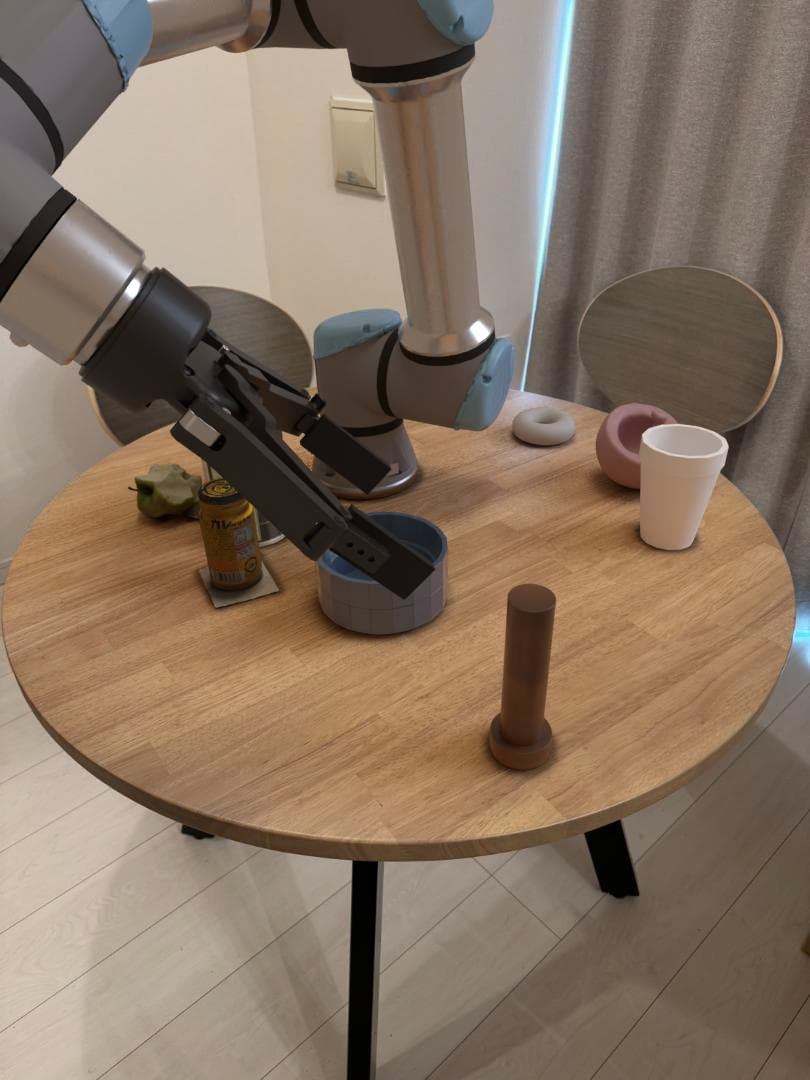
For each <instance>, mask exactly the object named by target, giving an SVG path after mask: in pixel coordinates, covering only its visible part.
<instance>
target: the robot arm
mask: <svg viewBox="0 0 810 1080" xmlns="http://www.w3.org/2000/svg"><path fill="white" fill-rule="evenodd" d="M494 11H495V3H494V0H0V327H2V328H3V329H5V330H7V331H8V332H10V334H9V340H10V342H11V343H12V344H13V345H14V346H17V347H18V348H25V347H27V346H28V345H29V346H30V347H32V348H33V349H35V350H36V351H38V352H39V353H41V354H42V355H44V356H45V357H47V358H48V359H50V360H51V361H53V362H54V363H56V364H57V365H59V366H63V367H64V366H68V365H70V364H71V363H72V362H75V363H76V364H78V365H79V366H80V368H79V370H78V376H80V377H81V379H80V382H82V383H84V384H85V385H87V386H88V387H90V388H91V389H93V390H94V391H96V392H97V393H98V394H100V395H102V396H103V397H105V398H106V399H108V400H109V401H110V402H112V403H114V404H115V405H117V406H118V407H120V408H121V409H122V410H124V411H125V412H127V413H130V414H139V413H142V412H144V411H145V410H147V409H148V408H149V407H151V405H152V403H153V402H155V401H158V400H163V401H164V402H167V403H168V405H169V406H170V407H171V408H172V409H174V410H175V411H176V412H177V413H178V414H179V415H180V417H179V419H177V421H176V422H175V423H174V425H172V427H171V428H170V429H169V434H170V435H171V437H172V438H173V439H174V440H175V441H176V442H177V443H179V444H180V445H182V446H183V447H184V448H186V449H187V450H189V451H190V452H191V453H192V454H193V455H195V456H197V457H198V458H200V459H202V460H204V461H205V462H206V463H207V464H209V465H210V466H211V467H212V468H213V469H214V470H215V471H216V472H217V473H218V474H219V475H220V476H221V477H222V478H223V479H225V480H226V481H227V482H228V483H229V484H230V485H231V486H232V487H233V488H234V489H235V490H236V491H237V492H238V493H239V494H241V495H242V496H243V497H244V498H245V499H246V500H247V501H248V502H249V503H250V504H251V505H252V506H253V507H254V508H256V509H257V510H258V511H259V512H260V513H261V514H262V515H263V516H264V517H265V518H266V519H267V520H268V521H269V522H270V523H272V524H273V525H274V526H275V527H276V528H277V529H278V530H279V531H280V532H281V533H282V534H283V535H284V536H285V538H286V539H288V541H289V542H290V543H292V544H293V545H294V546H295V547H296V548H297V549H298V550H299V551H300V553H301V554H303V556H305V557H306V558H308V559H309V560H310V561H314V562H315V561H318V560H319V559H320V558H321V556H322V555H323V554H324V553H325V552H326V551H327V550H328V549H329V550H330V551H332V552H333V553H335V554H336V555H338V556H339V557H341V558H342V559H344V560H345V561H347V562H348V563H350V564H351V565H353V566H354V567H356V568H357V569H359V570H360V571H362V572H363V573H365V574H366V575H368V576H369V577H371V578H372V579H374V580H375V581H376V582H378V583H379V584H381V585H382V586H384V587H385V588H387V589H388V590H390V591H391V592H393V593H394V594H396V595H397V596H399V597H400V598H402V599H403V600H405V599H406V598H407V597H408V596H409V595H410V594H411V593H412V592H413V591H414V590H415V589H416V588H417V587H418V586H419V585H420V584H421V583H422V582H423V581H424V580H425V579H426V578H427V577H428V576H429V575H431V574H432V573H433V572H434V571H435V570H436V569H435V567H434V565H433V563H432V562H431V561H430V560H428V559H427V558H426V557H424V556H423V555H421V554H420V553H419V552H417V551H416V550H415V549H413V548H412V547H410V546H409V545H408V544H406V543H405V542H403V541H402V540H401V539H399V538H398V537H397V536H395V535H394V534H392V533H391V532H390V531H388V530H387V529H385V528H384V527H383V526H381V525H380V524H379V523H377V522H376V521H374V520H373V519H372V518H370V517H369V516H367V515H366V514H365V512H364V511H362V510H361V509H359V508H358V507H357V506H355V505H354V504H350V505H349V506H348V507H346V506H345V505H344V504H343V503H342V502H341V501H340V499H338V498H342V499H347V500H372V499H373V500H374V499H381V498H384V497H385V498H386V497H388V496H392V495H395V494H398V493H401V492H402V491H404V490H407V488H409V487H411V485H412V484H414V483H415V481H416V480H417V478H418V473H419V471H418V459H417V456H416V453H415V451H414V447H413V445H412V443H411V440H410V437H409V434H408V432H407V429H406V426H405V422H404V420H406V421H411V422H417V423H421V424H425V425H426V424H427V425H432V426H437V427H443V428H448V429H453V430H454V431H460V430H462V431H470V432H483V431H486V430H487V429H489V428H490V427H491V426H492V425H493V424H494V423H495V421H496V420H497V419H498V417H499V416H500V414H501V411H502V409H503V407H504V405H505V402H506V399H507V397H508V394H509V390H510V387H511V383H512V380H513V375H514V370H515V369H514V368H515V359H516V354H515V351H516V350H515V347H514V345H513V343H512V342H511V341H510V340H508V339H506V338H505V337H499V338H498V337H496V328H495V327H496V326H495V319H494V316H493V315H492V314H491V312H490V311H489V310H488V309H486V308H485V307H483V306H481V302H480V290H479V279H478V278H479V277H478V266H477V254H476V244H475V243H476V242H475V232H474V231H475V229H474V219H473V206H472V197H471V183H470V172H469V171H470V170H469V160H468V148H467V135H466V124H465V113H464V112H465V111H464V100H463V90H462V88H463V87H462V81H463V78H464V76H465V75H466V73H467V72H468V70H469V69H470V68H471V66H472V64H473V63H474V62H475V60H476V45H475V43H476V42H478V41H479V40H481V39H482V38H483V37H484V36H485V35H486V33H487V32H488V30H489V28H490V25H491V23H492V20H493V16H494ZM213 47H215V48H218V49H220V50H222V51H224V52H227V53H231V54H242V53H246V52H249V51H251V50H256V49H272V48H281V49H282V48H284V49H306V50H308V49H309V50H345V49H346V52H347V57H348V62H349V67H350V73H351V79H352V81H353V82H354V83H355V84H356V85H358V86H359V87H360V88H361V89H362V90H363V91H365V92H366V93H367V94H369V96H370V97H371V101H372V108H373V113H374V120H375V126H376V131H377V132H376V133H377V138H378V146H379V151H380V156H381V157H380V158H381V162H382V168H383V176H384V182H385V187H386V194H387V200H388V206H389V211H390V219H391V224H392V230H393V236H394V243H395V249H396V254H397V260H398V266H399V273H400V279H401V285H402V291H403V298H404V304H405V309H406V317H405V319H404V320H403V319H402V317H401V314H400V312H399V311H397V310H395V309H393V308H369V309H361V310H354V311H349V312H345V313H341V314H337V315H334V316H332V317H329V318H327V319H324V320H323V321H321V322H320V323H318V325H317V326H316V327H315V329H314V331H313V337H312V338H313V355H312V359H313V361H314V371H315V380H316V381H315V382H316V390H317V392H315V394H314V395H313V396H311V394H310V393H309V390H307V389H306V388H303V387H301V386H300V385H299V384H297V383H295V382H294V381H292V380H290V379H288V378H287V377H285V376H283V375H282V374H280V373H278V372H277V371H275V370H274V369H272V368H270V367H269V366H267V365H265V364H263V363H262V362H260V361H259V360H257V359H256V358H253V357H252V356H251V355H249V354H247V353H245V352H244V351H243V350H241V349H239V348H237V347H236V346H234V345H232V344H231V343H230V342H228V341H227V340H225V339H224V338H223V337H222V336H220V335H219V334H218V333H217V332H216V330H214V329H212V328H209V325H210V323H211V320H212V315H213V313H212V307H211V305H210V304H209V302H208V301H207V300H205V299H204V298H202V296H200V295H199V294H198V293H197V292H195V291H194V290H193V289H192V288H191V287H189V286H188V285H187V284H185V283H184V282H183V281H181V280H180V279H179V278H178V277H177V276H176V275H174V274H173V273H172V272H171V271H170V270H168V269H167V268H165V267H161V268H160V267H158V266H155V267H153V268H152V269H150V268H149V267H148V266H146V265H145V264H144V262H145V261H146V259H147V255H146V251H145V249H144V248H142V247H141V246H140V245H138V244H137V243H136V242H134V241H133V240H132V239H131V238H129V237H128V236H127V235H126V234H124V233H123V232H122V231H120V230H119V229H118V228H117V227H115V226H114V225H113V224H112V223H110V222H109V221H107V219H105V217H103V216H102V215H100V214H99V213H98V212H96V211H95V210H94V209H93V208H91V207H90V206H89V205H88V204H86V203H85V202H84V201H82V200H81V199H80V198H78V197H77V196H76V195H74V194H73V193H71V192H70V191H69V190H68V189H66V188H65V187H64V186H63V185H62V184H61V183H60V182H58V181H57V180H56V179H55V178H54V177H53V176H54V174H55V173H56V172H57V171H58V170H59V168H61V166H62V163H63V162H64V161H65V159H66V158H67V157H68V156H69V155H70V154H71V152H72V151H73V150H74V149H75V148H76V146H77V145H78V144H79V143H80V142H81V141H82V139H83V138H84V137H85V136H86V135H87V133H88V132H89V131H90V130H91V129H92V128H93V127H94V125H95V124H96V123H97V122H98V120H100V118H101V117H102V116H103V114H104V113H106V111H107V110H108V109H109V108H110V107H111V105H112V104H113V103H114V102H115V101H116V99H117V98H118V97H119V96H120V95H122V93H125V92H126V91H127V90H128V87H129V85H130V80H131V79H132V77H133V76H134V74H135V73H136V71H137V69H138V68H142V67H145V66H149V65H153V64H156V63H159V62H164V61H166V60H171V59H173V58H176V57H182V56H184V55H188V54H192V53H196V52H198V51H199V52H200V51H203V50H205V49H209V48H213ZM276 429H277V430H280V431H282V433H286V434H289V435H292V436H295V437H298V438H300V436H301V435H302V434H303V436H302V437H301V438H300V439H299V445H300V447H302V448H303V449H305V451H307V452H309V453H310V454H311V455H313V459H312V465H311V468H310V467H309V466H308V465H307V463H305V462H304V460H302V458H301V457H299V455H298V454H297V453H296V452H295V451H294V450H293V449H292V448H291V446H289V445H288V443H287V442H286V441H285V440H284V438H283V439H282V438H281V437H280V436H279V435H278V434H277V432H276ZM202 460H201V461H202Z"/></svg>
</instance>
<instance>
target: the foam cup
mask: <svg viewBox="0 0 810 1080" xmlns="http://www.w3.org/2000/svg"><path fill="white" fill-rule="evenodd" d="M729 448H730V447H729V443H728V441H727V438H725V437H724V436H722V435H721V434H720V433H717V432H716V431H713V430H711V429H708V428H706V427H705V428H704V427H701V426H698V425H690V424H684V423H683V424H682V423H678V424H666V425H659V426H655V427H652V428H649V429H648V430H646V431H645V432H644V433H643V434H642V438H641V444H640V451H639V454H640V460H641V485H640V489H639V490H640V491H639V492H640V495H639V498H640V499H639V534H640V538H641V539H642V541H644V543H646V544H647V545H649V546H652V547H654V548H655V549H661V550H666V551H681V550H684V549H686V548H688V547H690V546H691V545H692V544H693V543H694V539H695V538H696V536H697V533H698V530H699V527H700V525H701V523H702V519H703V518H704V515H705V512H706V509H707V508H708V504H709V501H710V499H711V496H712V494H713V491H714V489H715V487H716V483H717V481H718V478H719V475H720V474H721V470H722V469H723V468H724V467H725V465H726V460H727V456H728V451H729Z"/></svg>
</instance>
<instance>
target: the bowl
mask: <svg viewBox="0 0 810 1080" xmlns="http://www.w3.org/2000/svg"><path fill="white" fill-rule="evenodd" d="M364 513H365V512H364ZM365 514H366V515H367V516H369V517H370V518H372V519H373V520H374V521H376V522H377V523H379V524H380V525H381V526H383V527H384V528H385V529H387V530H388V531H390V532H391V533H392V534H394V535H395V536H397V537H398V538H399V539H401V540H402V541H403V542H405V543H406V544H408V545H409V546H410V547H412V548H413V549H415V550H416V551H417V552H419V553H420V554H421V555H423V556H424V557H426V558H427V559H428V560H430V561H431V562H432V563H433V565H434V567H435V569H436V570H435V571H434V572H433V573H432V574H431V575H429V576H428V577H427V578H426V579H425V580H424V581H423V582H422V583H421V584H420V585H419V586H418V587H417V588H416V589H415V590H414V591H413V592H412V593H411V594H410V595H409V596H408V597H407V598H406V599H405V600H403V599H402V598H400V597H399V596H397V595H396V594H394V593H393V592H391V591H390V590H388V589H387V588H385V587H384V586H382V585H381V584H379V583H378V582H376V581H375V580H374V579H372V578H371V577H369V576H368V575H366V574H365V573H363V572H362V571H360V570H359V569H357V568H356V567H354V566H353V565H351V564H350V563H348V562H347V561H345V560H344V559H342V558H341V557H339V556H338V555H336V554H335V553H333V552H332V551H330V550H329V549H328V550H327V551H326V552H325V553H324V554H323V555H322V556H321V558H320V559H319V560H318V561H314V568H315V576H316V586H317V587H316V588H317V595H318V602H319V605H320V607H321V609H322V613H323V614H324V615H326V616H327V617H328V618H329V619H330V620H331V621H332V622H333V623H334V624H336V625H338V626H339V627H343V628H344V629H347V630H349V631H351V632H359V633H362V634H368V635H394V634H399V633H403V632H407V631H410V630H414V629H416V628H418V627H421V626H423V625H425V624H426V623H429V622H431V621H433V619H434V618H435V617H436V616H437V615H438V614H440V613H441V612H442V611H443V610H444V607H445V605H446V603H447V601H448V598H449V543H448V537H447V536H446V535H445V533H444V532H443V530H442V529H441V528H440V527H439V526H438V525H436V524H434V523H433V522H431V521H430V520H428V519H426V518H423V517H420V516H417V515H414V514H411V513H405V512H397V511H372V512H371V511H370V512H366V513H365Z"/></svg>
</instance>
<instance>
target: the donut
mask: <svg viewBox="0 0 810 1080" xmlns="http://www.w3.org/2000/svg"><path fill="white" fill-rule="evenodd" d="M511 429H512V432H513V434H514V435H515V437H516V438H518V439H519V440H520V441H522V442H524V443H528V444H530V445H535V446H555V445H559V444H563V443H565V442H567V441H569V440H570V439H572V437H573V436H574V434H575V433H576V430H577V427H576V421H575V418H573V417H572V415H570V414H569V413H567V412H566V411H564V410H561V409H557V408H553V407H544V406H542V407H541V406H539V407H532V408H528V409H524V410H522V411H520V412H519V413H517V414H516V416H514V418H513V420H512V425H511Z"/></svg>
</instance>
